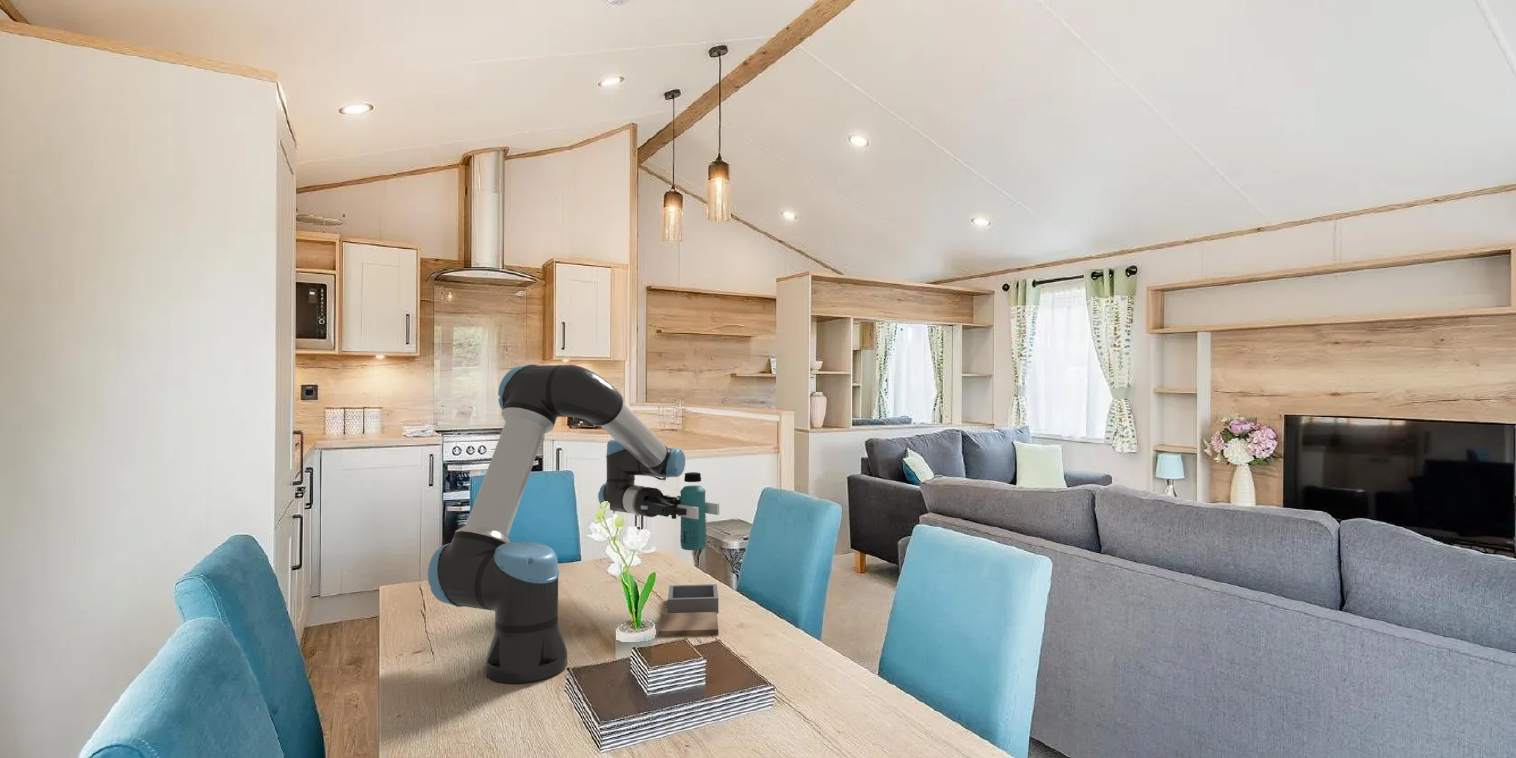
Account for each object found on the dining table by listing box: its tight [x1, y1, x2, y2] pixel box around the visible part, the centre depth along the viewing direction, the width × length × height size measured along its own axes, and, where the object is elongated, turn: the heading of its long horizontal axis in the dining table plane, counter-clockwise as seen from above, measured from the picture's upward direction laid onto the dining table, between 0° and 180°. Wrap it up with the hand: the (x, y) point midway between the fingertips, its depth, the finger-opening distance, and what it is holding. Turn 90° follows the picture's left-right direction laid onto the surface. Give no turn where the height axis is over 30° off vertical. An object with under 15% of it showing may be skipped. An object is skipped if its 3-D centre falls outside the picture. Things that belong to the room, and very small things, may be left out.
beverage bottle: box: [679, 471, 708, 551], centre depth 180 cm, size 6×7×20 cm
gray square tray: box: [667, 583, 719, 614], centre depth 180 cm, size 12×12×4 cm
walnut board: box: [657, 612, 719, 638], centre depth 165 cm, size 13×12×1 cm
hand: (707, 511), depth 177 cm, fingers closed on beverage bottle, 6 cm apart
